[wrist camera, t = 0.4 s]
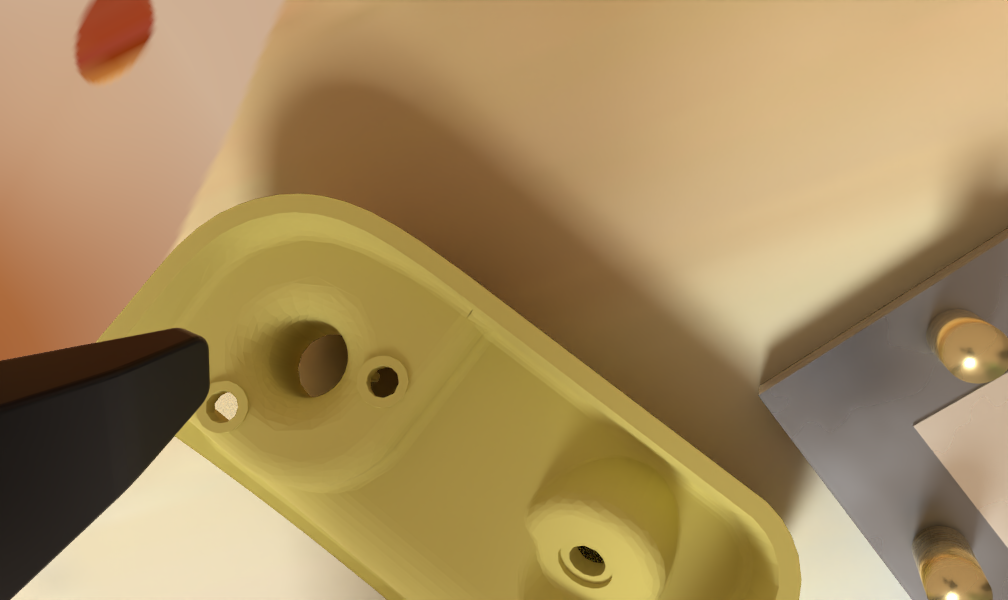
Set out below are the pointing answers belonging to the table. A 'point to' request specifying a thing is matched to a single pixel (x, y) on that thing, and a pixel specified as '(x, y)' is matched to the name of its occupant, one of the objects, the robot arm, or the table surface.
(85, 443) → the robot arm
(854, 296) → the table surface
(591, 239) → the table surface
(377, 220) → the plastic component
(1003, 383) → the chassis
